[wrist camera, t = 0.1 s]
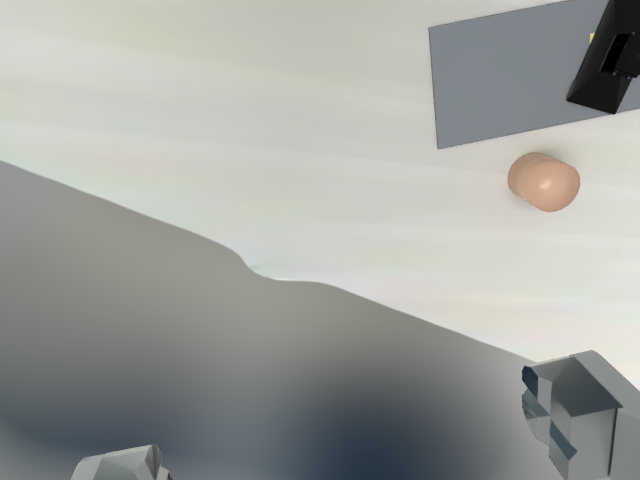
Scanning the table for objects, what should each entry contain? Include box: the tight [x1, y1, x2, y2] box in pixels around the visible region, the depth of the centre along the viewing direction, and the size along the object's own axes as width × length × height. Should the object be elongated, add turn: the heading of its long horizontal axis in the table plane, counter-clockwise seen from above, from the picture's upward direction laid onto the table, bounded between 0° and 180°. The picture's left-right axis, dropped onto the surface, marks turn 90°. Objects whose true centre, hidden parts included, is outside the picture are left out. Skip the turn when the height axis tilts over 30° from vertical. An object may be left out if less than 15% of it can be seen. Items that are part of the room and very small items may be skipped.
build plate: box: [566, 0, 640, 115], centre depth 52 cm, size 12×7×5 cm, turn 166°
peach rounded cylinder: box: [508, 153, 580, 212], centre depth 57 cm, size 6×6×6 cm
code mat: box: [429, 0, 640, 149], centre depth 54 cm, size 14×29×1 cm, turn 100°
